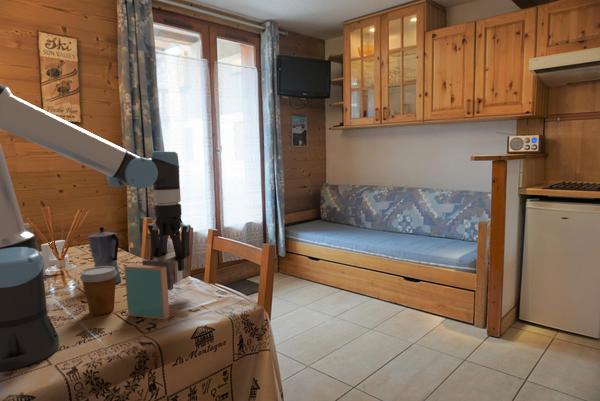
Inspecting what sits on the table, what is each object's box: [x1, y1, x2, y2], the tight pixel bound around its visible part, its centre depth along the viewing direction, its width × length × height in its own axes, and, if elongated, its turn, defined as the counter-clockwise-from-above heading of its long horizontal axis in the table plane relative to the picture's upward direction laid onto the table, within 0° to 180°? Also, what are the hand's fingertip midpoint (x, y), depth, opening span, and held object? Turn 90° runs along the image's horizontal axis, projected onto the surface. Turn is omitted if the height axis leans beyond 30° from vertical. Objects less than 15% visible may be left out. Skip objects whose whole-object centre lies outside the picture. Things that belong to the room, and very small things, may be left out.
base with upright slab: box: [40, 239, 70, 276], centre depth 157 cm, size 9×9×12 cm
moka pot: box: [87, 226, 122, 285], centre depth 141 cm, size 10×15×20 cm, turn 62°
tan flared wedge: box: [141, 251, 190, 291], centre depth 120 cm, size 13×9×8 cm
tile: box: [123, 263, 171, 320], centre depth 110 cm, size 2×12×14 cm, turn 72°
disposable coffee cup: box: [79, 266, 117, 316], centre depth 115 cm, size 10×10×12 cm
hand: (172, 280), depth 121 cm, fingers closed on tan flared wedge, 4 cm apart
